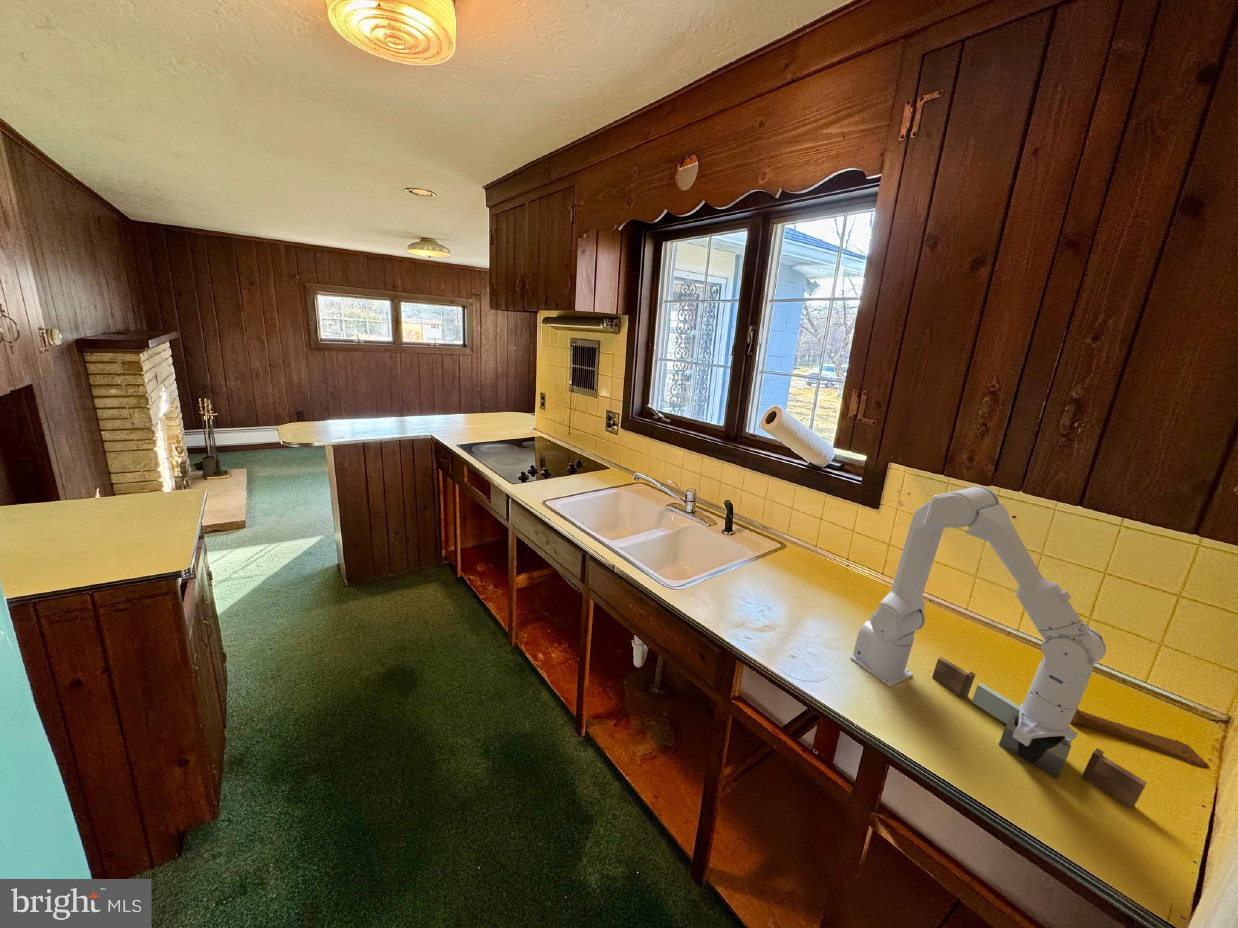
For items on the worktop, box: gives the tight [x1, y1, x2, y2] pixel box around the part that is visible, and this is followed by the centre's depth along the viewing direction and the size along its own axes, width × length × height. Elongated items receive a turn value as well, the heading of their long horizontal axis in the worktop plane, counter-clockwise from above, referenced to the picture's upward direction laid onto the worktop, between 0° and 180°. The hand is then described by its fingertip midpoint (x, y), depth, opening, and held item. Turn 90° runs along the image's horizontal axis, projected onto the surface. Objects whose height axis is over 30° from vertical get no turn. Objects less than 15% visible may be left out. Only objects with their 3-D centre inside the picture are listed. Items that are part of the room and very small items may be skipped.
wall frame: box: [931, 656, 1148, 810], centre depth 84 cm, size 30×2×6 cm, turn 28°
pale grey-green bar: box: [971, 682, 1073, 745], centre depth 85 cm, size 14×2×4 cm, turn 29°
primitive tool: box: [1070, 708, 1210, 769], centre depth 85 cm, size 19×6×4 cm, turn 70°
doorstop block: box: [998, 714, 1072, 780], centre depth 80 cm, size 8×5×4 cm, turn 38°
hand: (1026, 758), depth 78 cm, fingers closed
